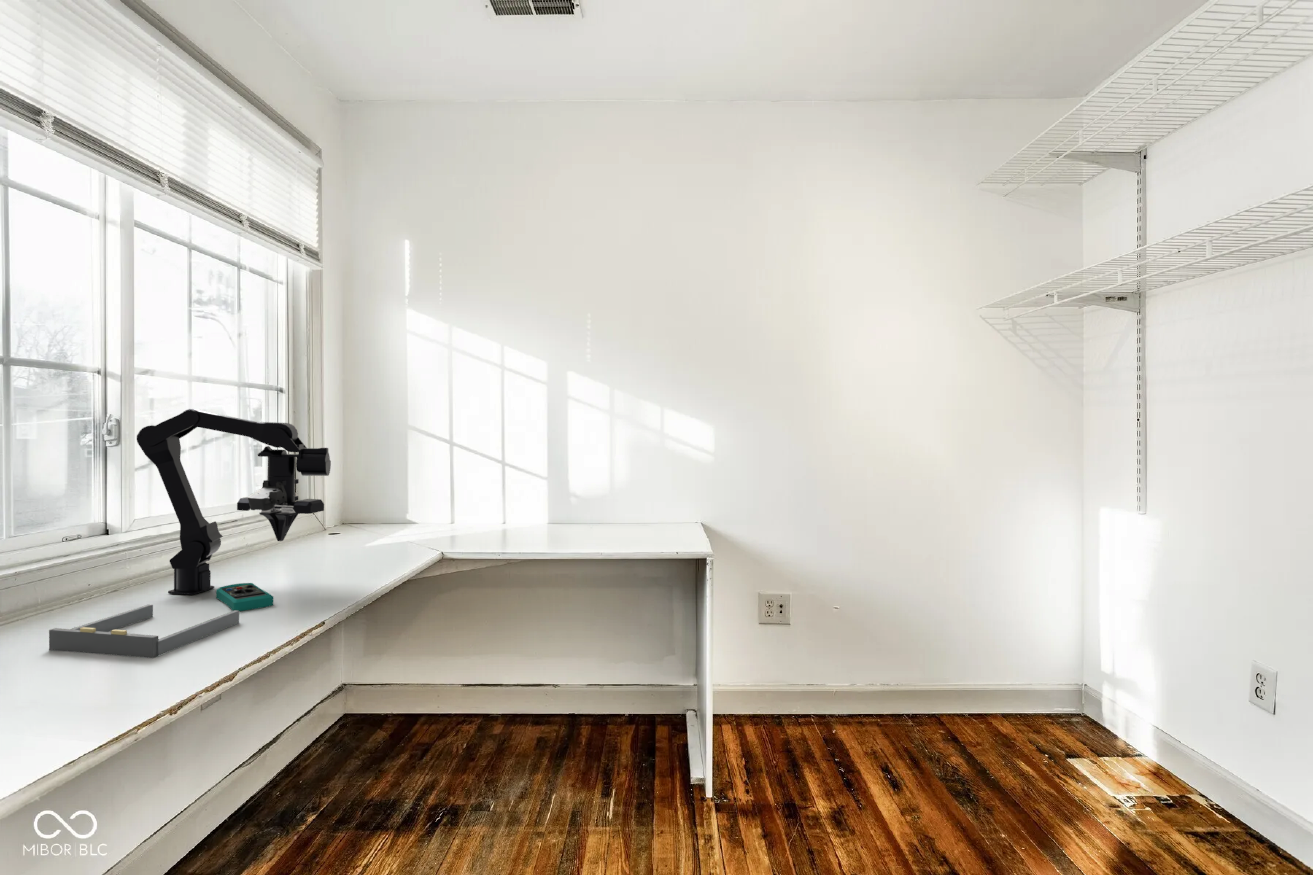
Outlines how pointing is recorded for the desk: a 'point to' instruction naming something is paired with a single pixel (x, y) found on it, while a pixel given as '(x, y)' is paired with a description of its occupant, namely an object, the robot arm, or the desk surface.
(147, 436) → the robot arm
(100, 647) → the frame
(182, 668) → the desk surface
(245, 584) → the digital multimeter
